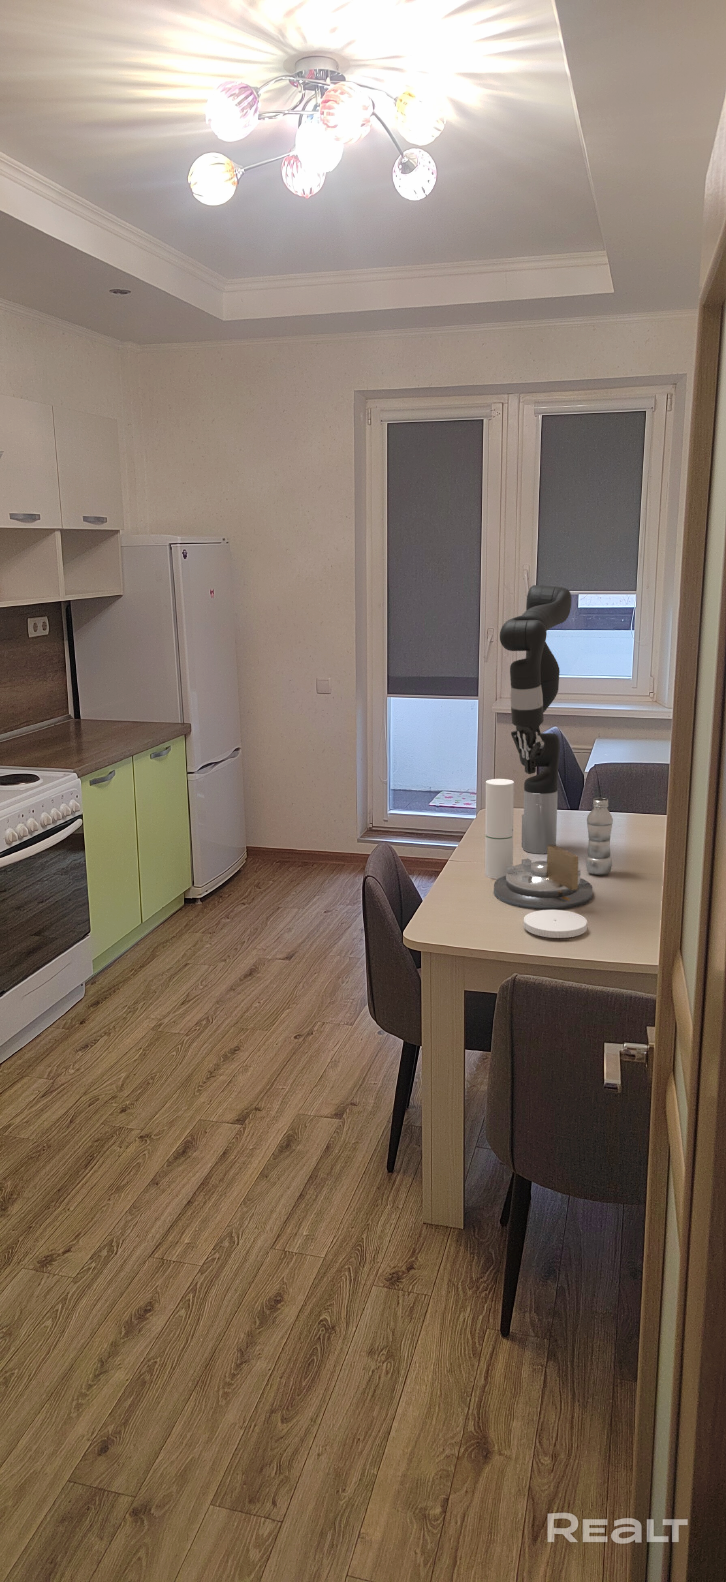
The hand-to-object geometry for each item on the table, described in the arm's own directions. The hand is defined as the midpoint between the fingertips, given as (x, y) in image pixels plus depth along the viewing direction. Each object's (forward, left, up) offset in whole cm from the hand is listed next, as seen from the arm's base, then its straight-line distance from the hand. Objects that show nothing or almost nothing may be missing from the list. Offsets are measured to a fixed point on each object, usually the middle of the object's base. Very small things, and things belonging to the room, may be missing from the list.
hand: (530, 772), depth 252 cm
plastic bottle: (-3, +24, -30) cm, 39 cm away
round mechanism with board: (+6, +2, -28) cm, 29 cm away
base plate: (+3, +2, -30) cm, 30 cm away
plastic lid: (+25, -10, -31) cm, 41 cm away
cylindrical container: (-15, +1, -30) cm, 34 cm away
